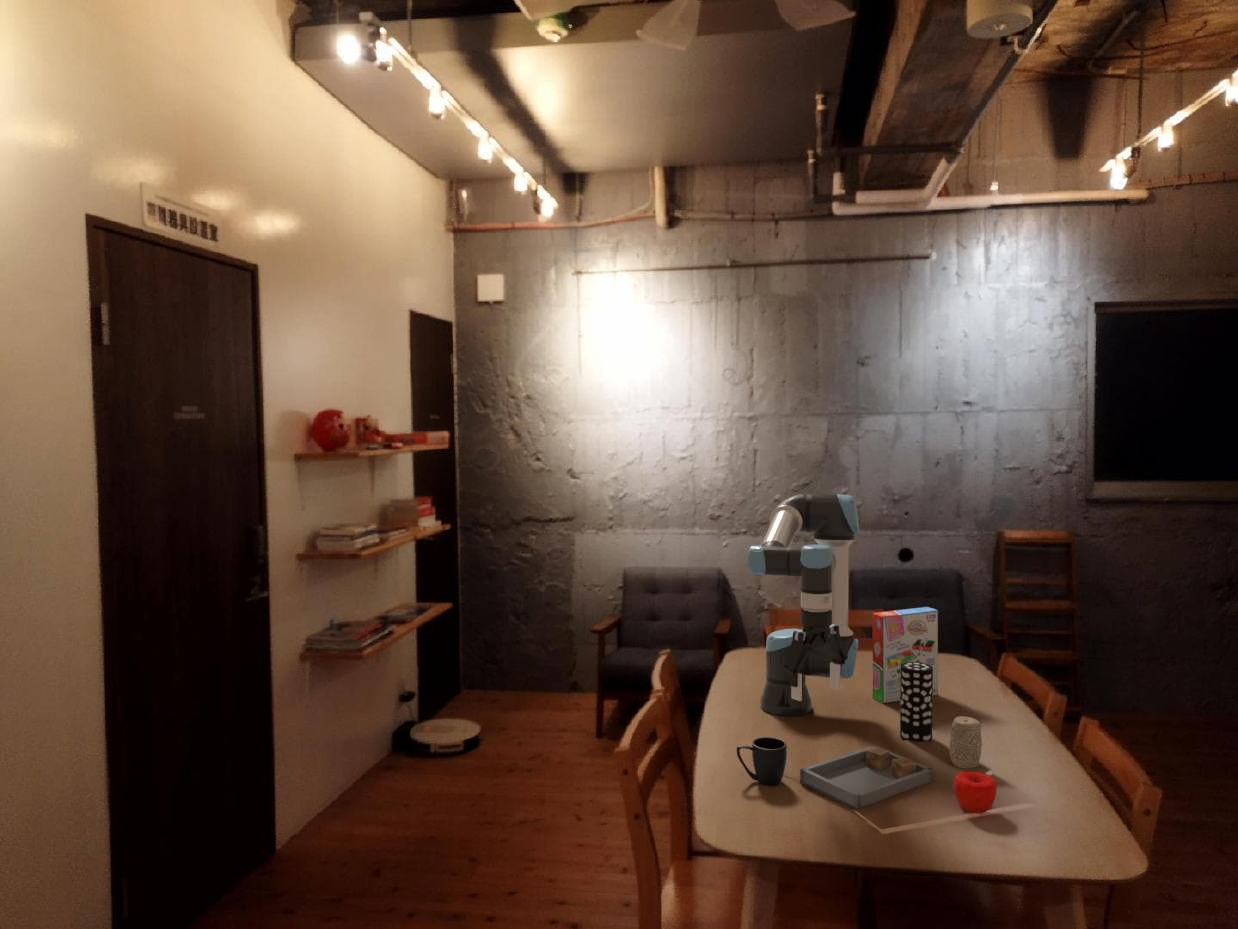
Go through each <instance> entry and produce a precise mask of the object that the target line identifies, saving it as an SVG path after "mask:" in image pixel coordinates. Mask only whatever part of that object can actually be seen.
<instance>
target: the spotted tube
mask: <svg viewBox="0 0 1238 929" xmlns="http://www.w3.org/2000/svg"><path fill="white" fill-rule="evenodd" d="M933 698H934V696H933V667H932V666H931V665H929V664H926V663H921V662H905V663H902V664H901V665H900V701H899V739H900V740H902V741H903V742H904V741H910V742H911V741H912V742H917V743H918V742H923V743H924V742H928V743H931V742H933Z"/></svg>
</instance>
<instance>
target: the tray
mask: <svg viewBox="0 0 1238 929" xmlns="http://www.w3.org/2000/svg"><path fill="white" fill-rule="evenodd" d="M875 746H876V747H878V746H877V745H870V746H868V747H865V748H862V749H858V750H856V751H851V752H849V753H847V754H843V755H840V756H838V757H833V758H831V759H827V760H825V761H821V762H818V763H815V764H812V765H808V766H805V767H803V768H799V770H800V772H799V773H800V775H799V778H800V779H799V782H800V784H801V785H803V786H805V787H807V788H809V789H811V790H813V791H815V792H817V793H819V794H821V795H823V796H825V797H827V798H829V799H830V800H833V801H835V802H837V803H839V804H841V805H843V806H845V807H847V808H849V809H851V810H853V811H855V812H857V813H859V812H860V811H859V810H858V809H861V808H864V807H867V806H869V805H872V804H874V803H877V802H879V801H882V800H886V799H888V798H891V797H893V796H897V795H899V794H901V793H904V792H906V791H910V790H912V789H915V788H917V787H920V786H923V785H925V784H928V783H932V782H934V769H933V768H931V767H928V766H926V765H923V764H921V763H918V762H916V761H913V760H912V761H913V762H914V763H916V773H913V774H911V775H908V776H905V777H902V778H899V779H896V778H895V777H893V776H892V759H898V758H904V756H903V755H902V756H901V755H900V754H897V753H894V752H891V751H889V767H887V768H885V769H884V770H882V771H879V770H876V769H873V768H870V767H867V766H866V751H867V750H869V749H871V748H873V747H875Z"/></svg>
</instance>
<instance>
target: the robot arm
mask: <svg viewBox="0 0 1238 929" xmlns="http://www.w3.org/2000/svg"><path fill="white" fill-rule="evenodd" d="M858 515H859V514H858V507H857V502H856V500H855V497H854V496H852V495H850V494H842V493H841V494H839V493H837V494H836V493H832V494H831V493H830V494H829V493H828V494H827V493H821V494H820V493H799V494H795V495H792V496H790V497H788V498H786V499H783V500H782V501H780V502H779V503H778V504H777V505H776V506H774V508H773V510H772V511H771V513H770V516H769V526H768V529H767V531H766V534H765V535H764V538H763V541H762V543H761V545H760V544H759V545H751V546H750V547H749V548H748V550H747V556H746V558H747V559H746V560H747V561H746V562H747V565H746V566H747V569H748V572H749V573H750V574H751V575H760V576H773V577H775V576H776V577H777V576H779V577H795V578H797V577H798V578H799V577H800V607H801V609H800V624H801V625H802V629H799V628H785V629H778V630H776V631H773V632H771V633H769V634H768V636H767V637H766V644H765V645H766V646H765V651H766V652H765V655H766V656H765V658H766V659H765V662H766V663H765V664H766V666H765V667H766V668H765V670H766V672H765V673H766V674H765V675H766V676H765V678H766V679H765V684H764V687H763V692H762V695H761V697H760V708H761V709H762V710H763V711H765V712H767V713H769V714H773V715H777V716H786V717H791V716H801V715H805V714H808V713H809V712H811V711H812V700H811V697H810V694H809V690H808V687H807V683H806V676H807V677H808V676H810V677H819V678H829V689H832V690H835V691H839V692H840V691H841V679H851V678H852V677H853V676H854V674H855V667H856V661H857V655H858V648H859V640H858V639H857V638H854V632H853V630H851V629H850V627H849V565H850V564H849V552H850V549H849V547H850V545H851V544H853V542H854V541H855V536H857V535H859V534H860V525H859V522H860V521H859V516H858ZM798 533H807V534H813V540H814V541H815V542H816V543H817V544H806V545H803V546H801V547H797V546H796V547H794V546H792V545H793V543H794V542H793V541H794V539H795V536H796V535H797V534H798Z"/></svg>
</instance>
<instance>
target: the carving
mask: <svg viewBox="0 0 1238 929" xmlns="http://www.w3.org/2000/svg"><path fill="white" fill-rule="evenodd" d="M982 746H983V738H982V726H981V723H980V721H978V720H977V719H975V718H973V717H969V716H963V715H962V716H956V717H954V719H953V721H952V725H951V730H950V740H949V757H950V762H951V763H952V764H953V765H954V766H956V767H958V768H962V769H975V768H977V767H979V763H980V759H981V757H982V751H983V750H982Z"/></svg>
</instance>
